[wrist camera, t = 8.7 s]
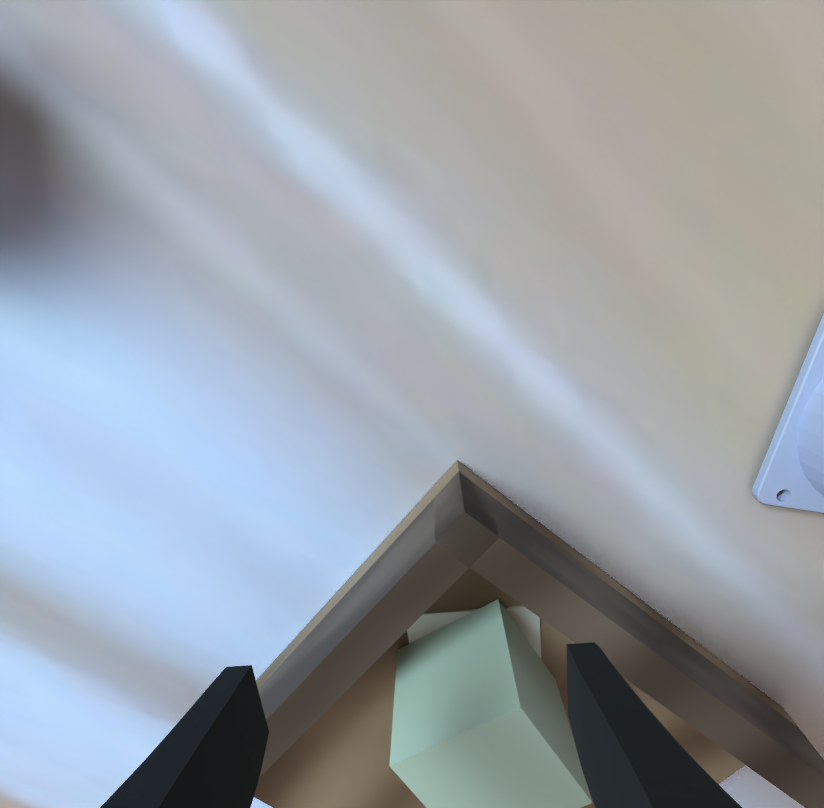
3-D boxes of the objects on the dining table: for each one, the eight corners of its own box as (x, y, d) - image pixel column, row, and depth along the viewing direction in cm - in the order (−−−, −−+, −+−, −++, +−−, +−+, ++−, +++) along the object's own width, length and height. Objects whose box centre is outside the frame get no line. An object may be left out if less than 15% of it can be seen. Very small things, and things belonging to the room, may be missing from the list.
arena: (783, 708, 23) (854, 799, 19) (498, 910, 28) (509, 1015, 24) (457, 460, 20) (464, 511, 16) (200, 742, 25) (158, 832, 21)
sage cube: (555, 679, 21) (592, 803, 17) (457, 723, 22) (466, 853, 18) (498, 598, 20) (520, 706, 16) (397, 649, 21) (389, 765, 16)
